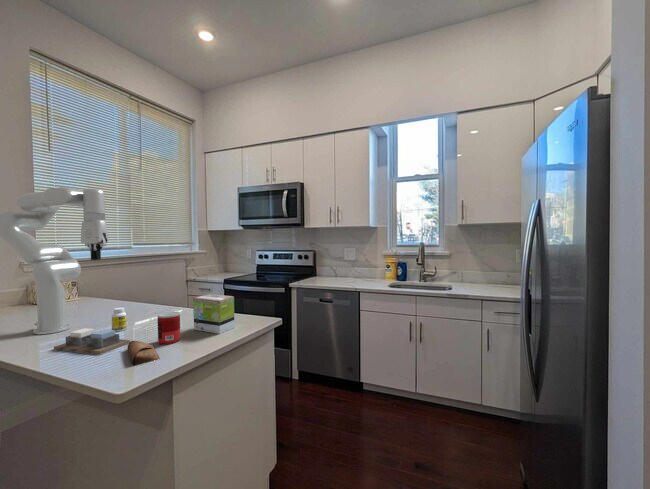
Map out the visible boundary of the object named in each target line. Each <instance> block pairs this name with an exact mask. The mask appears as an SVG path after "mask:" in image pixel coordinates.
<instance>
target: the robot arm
mask: <svg viewBox="0 0 650 489" xmlns="http://www.w3.org/2000/svg"><path fill="white" fill-rule="evenodd" d="M105 198H106V196H105V192H104V191H103V190H101V189H98V188H85V189H78V188H73V187H72V188H71V187H63V186H61V187H49V188H46V189H45V190H44V191H38V192H28V193H27V192H26V193H23V194H22V195H19V196H18V197H17V198H16V205H17V206H18V207H19V209H21V210H23V211H11V210H10V211H2V212H0V239H1V240H2V241H4V242H5V243H6V244H8V245H9V246H10V247H11V248H12V249H13V250H14V251H15V252H16V253H17V255H18V256H19V257H20V258H21V259H22V260H23V261H24V262H25V263H26V264H28V265H30V266H33V268H32V276H33V280H34V284H35V289H36V308H37V309H36V311H37V321H36V322H34V326H36V328H35V329H33V331H32V334H34V335H49V334H56V333H60V332H63V331H67V330H69V329H71V327H72V326H71V324H70V323H67V312H66V310H67V309H66V306H67V305H66V290H65V287H64V286H63V284H62V283H61V281H66V280H73V279H76V278H78V277H79V276H80V274H81V272H82V267H81V264H80V263H79V261H78V260H77V259H76V258H75V257H74V256H73V255H72V254H71V253H70V252H69V251H68V250H67V249H66V248H65V247H63V245H60V244H53V243H52V244H51V243H50V244H49V243H48V244H46V243H44V244H43V243H40V241H38V240H37V238H35V236H33V235H31V234H30V233H27V232H25V231H41V230H43V229H45V227H46V226H48V224H49V223H50V221H51V220H53V218H54V216H55V215H56V214H57V212H58V210H59V209H60V208H61V207H62V206H67V207H77V208H78V207H79V208H82V210H83V212H82V213H83V221H82V223H81V230H80V243H82V245H83V244H84V246H85V247H86V248H88V250H89V251H90V260H91V261H98V260H99V261H100V260H102V258H101V257H102V255H101V254H102V253H101V252H102V249H103V248H104V247H106V246H107V243H108V242H109V233H108V232H109V231H108V226H107V222H106V205H105V204H106V203H105V202H106V200H105Z"/></svg>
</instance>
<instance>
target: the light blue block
mask: <svg viewBox="0 0 650 489" xmlns="http://www.w3.org/2000/svg"><path fill="white" fill-rule="evenodd" d="M115 334H116V332H115V330H112V329H102V330H98V331H95V332H94V333H91V339H101V340H102V339H105V338H108V337H110V336H113V335H115Z"/></svg>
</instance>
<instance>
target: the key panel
mask: <svg viewBox="0 0 650 489" xmlns="http://www.w3.org/2000/svg"><path fill="white" fill-rule="evenodd" d="M130 342H131V340H130V339H124V338H123V339H122V338H120V333H115V335H113V336H110V337H108V338H105V339H102V340H101V339H91V335H88V336H84V337H81V338H79V337H70V335H69V336H65V342H64V343H60V344H58V345H55V346H53V350H54V351H62V352H72V353H81V354H88V355H89V354H90V355H98V356H99V355H101V356H102V355H103V354H106V353H108V352H111V351H113V350H114V351H115V350H116V349H119V348H121V347H124V346H126V345H127V346H128V344H129V343H130Z"/></svg>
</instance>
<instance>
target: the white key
mask: <svg viewBox="0 0 650 489" xmlns="http://www.w3.org/2000/svg"><path fill="white" fill-rule="evenodd" d="M94 332H96V331H95V328H88V327H87V328H85V327H84V328H79V329H77V330H73V331H70V334H69V336H70V337H79V338H81V337H84V336H88V335H91V333H94Z"/></svg>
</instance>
